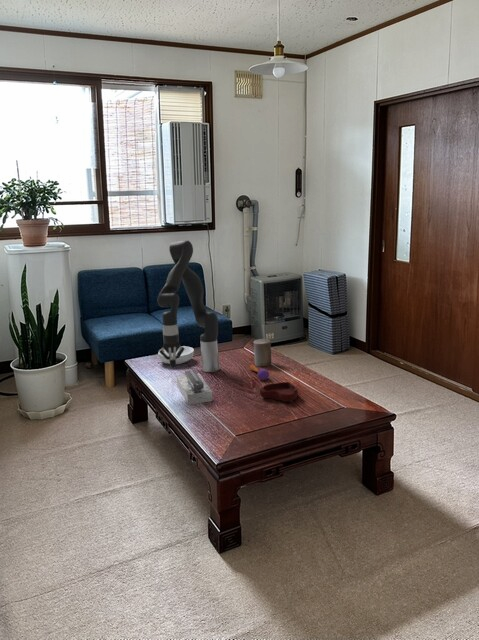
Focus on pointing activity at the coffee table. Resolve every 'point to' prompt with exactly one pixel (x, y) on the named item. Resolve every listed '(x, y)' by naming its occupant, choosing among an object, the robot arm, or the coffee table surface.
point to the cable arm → (194, 379)
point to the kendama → (260, 372)
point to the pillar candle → (262, 352)
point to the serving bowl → (183, 358)
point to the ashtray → (279, 391)
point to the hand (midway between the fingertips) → (172, 366)
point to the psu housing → (194, 391)
